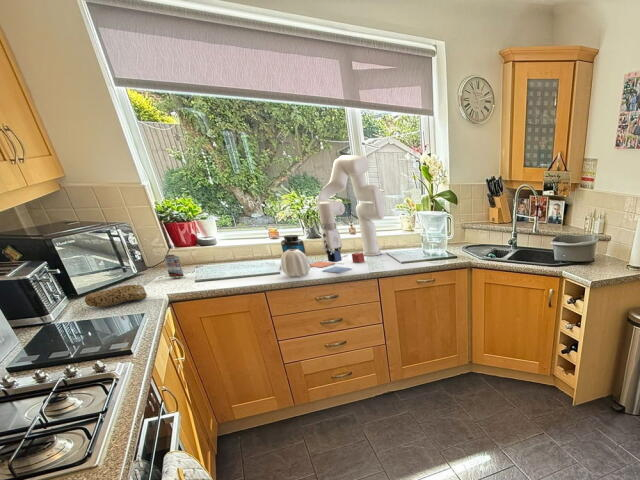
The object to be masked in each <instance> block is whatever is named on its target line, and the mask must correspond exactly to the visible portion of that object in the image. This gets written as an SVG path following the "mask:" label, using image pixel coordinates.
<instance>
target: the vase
mask: <svg viewBox="0 0 640 480" xmlns="http://www.w3.org/2000/svg"><path fill="white" fill-rule="evenodd" d="M280 264H281V269H282V272H283V273H284V274H285V275H287V276H288V277H303V276H306V275H308V274H309V273H310V271H311V266H310V264H311V263H310V261H309V259H308V257H307V254H306V255H305V254H304V253H303V252H301V251H300V250H297V249H290V250H287V251H285V252H284V253H283V252H282V254H281V258H280Z"/></svg>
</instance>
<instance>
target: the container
mask: <svg viewBox="0 0 640 480" xmlns="http://www.w3.org/2000/svg"><path fill="white" fill-rule="evenodd" d="M280 241H281V242H280V244H281V249H282V254H283V253H284V252H285V251H287V250H290V249H297V250H300V251H301V252H303V253H304V254H305V255H306V256H307V253H306V248H305V243H304V240H303V239H300V238H299V235H297V234H287V235H286V234H285V235H284V236H283V239H282V240H280Z"/></svg>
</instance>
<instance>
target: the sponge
mask: <svg viewBox="0 0 640 480" xmlns="http://www.w3.org/2000/svg"><path fill="white" fill-rule="evenodd" d="M147 297H148V294H147V292H146V289H145V287H144V286H143V285H142V284H126V285H120V286H116V287H113V288H110V289H106V290H100V291H95V292H90V293H89V294H87V295H86V296H85V297H84V300H83V301H84V302H85V305H86V306H89V307H92V308H105V307H112V306H116V305H119V304H122V303H126V302H130V301H138V300H139V301H140V300H144V299H146V298H147Z"/></svg>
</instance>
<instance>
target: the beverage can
mask: <svg viewBox="0 0 640 480" xmlns="http://www.w3.org/2000/svg"><path fill="white" fill-rule="evenodd" d="M163 260H164V264H165V268H166V271H167V274H168V276H169V277H170V278H171V279H178V278H179V279H180V278H183V277H184V276H185V275H184V271H183V268H182V263H181V261H180V258H179V256H178V255H177V254H176V253H173V254H170V253H169V254H164V256H163Z"/></svg>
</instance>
